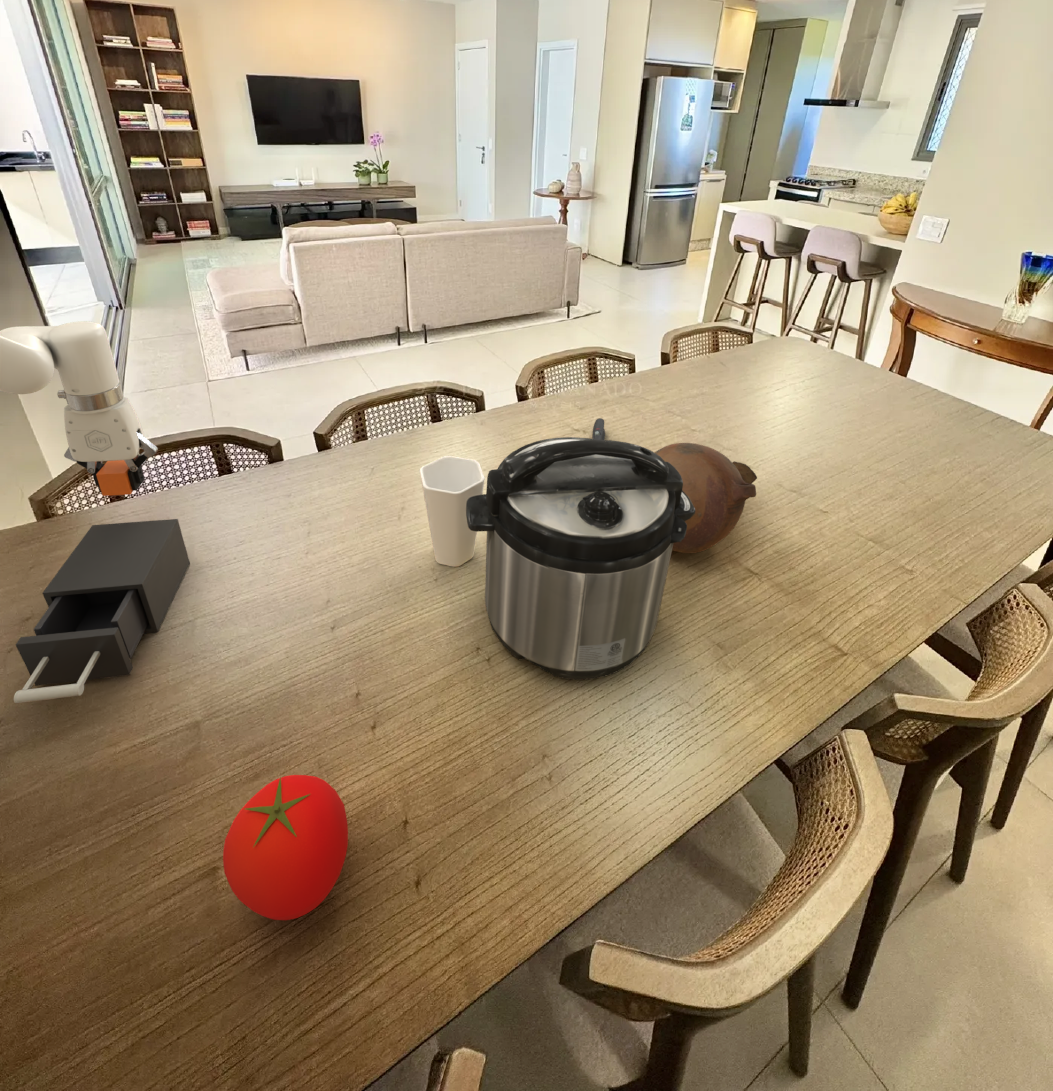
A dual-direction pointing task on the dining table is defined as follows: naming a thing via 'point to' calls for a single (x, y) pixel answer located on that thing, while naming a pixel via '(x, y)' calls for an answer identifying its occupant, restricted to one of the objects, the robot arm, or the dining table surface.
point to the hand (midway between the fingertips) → (121, 486)
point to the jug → (709, 492)
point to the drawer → (81, 642)
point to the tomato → (287, 847)
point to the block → (114, 478)
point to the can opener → (599, 430)
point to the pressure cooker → (578, 551)
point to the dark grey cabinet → (127, 565)
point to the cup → (451, 506)
